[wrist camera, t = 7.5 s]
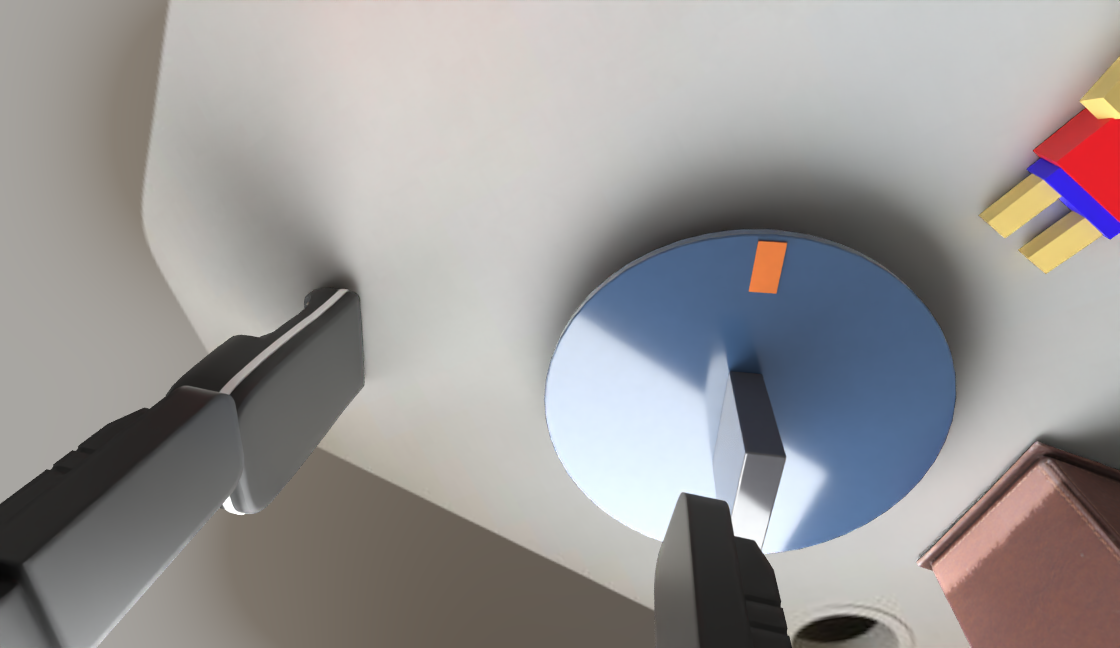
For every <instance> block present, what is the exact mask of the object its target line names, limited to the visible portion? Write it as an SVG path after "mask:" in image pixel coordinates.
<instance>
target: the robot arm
mask: <svg viewBox="0 0 1120 648" xmlns="http://www.w3.org/2000/svg"><path fill="white" fill-rule="evenodd" d="M243 468H244V453H243V447H242V441H241V435H240V429H239V423H238V417H237V410H236V405H235V401H234V399H233V398H232V396H230V395H229V394H225V393H220V392H215V391H211V390H206V389H201V388H196V387H192V386H181V387H179V388H176V389H175V390H173V391H172V392H171V393H170V394H168V395H167V396H166V397H164V398H163V399H162V400H161V401H159V402H158V403H157V404H155V405H154V406H153V407H152V408H150V409H148V408H142V409H140V410H138V411H136V412H133V413H131V414H129V415H127V416H124V417H123V418H120V419H118V420H115V421H113V422H111V423H109V424H107V425H106V426H104V427H103V428H102V429H100V430H99V431H98V432H96V433H95V434H94V435H92V436H91V437H90V438H88V439H87V440H86V441H84V442H83V443H82V444H80V445H79V446H78V449H77V450H76V451H73V450H72V451H71V452H69V453H68V454H67V455H65V456H64V457H63V458H61V459H60V460H59V461H57V462H56V463H55V464H54V465H53V468H52V469H51V470H45V471H44V472H43V473H42V474H40V475H39V476H37V477H36V478H35V479H33V480H32V481H31V482H29V483H28V484H26V485H25V486H24V487H22V488H21V489H20V490H18V491H17V492H16V493H14V494H13V495H12V496H10V497H9V498H8V499H6V500H5V501H4V502H2V503H1V504H0V648H96V647H97V646H98V645H99V644H100V643H101V642H102V640H103V639H104V638H105V637H106V636H107V635H108V634H109V633H110V631H111V630H112V629H113V628H114V627H115V626H116V625H117V623H118V622H119V621H120V620H121V619H122V618H123V617H124V615H125V614H126V613H127V612H128V611H129V610H130V609H131V607H132V606H133V605H134V604H135V603H136V602H137V601H138V599H139V598H140V597H141V596H142V595H143V594H144V593H145V592H146V590H147V589H148V588H149V587H150V586H151V585H152V584H153V582H154V581H155V580H156V579H157V578H158V577H159V575H161V573H162V572H163V571H164V570H165V569H166V567H168V565H169V564H170V563H171V562H172V561H173V559H175V557H176V556H177V555H178V554H179V553H180V552H181V551H182V549H183V548H184V547H185V546H186V545H187V544H188V543H189V542H190V540H191V539H192V538H193V537H194V536H195V534H197V532H198V531H199V530H200V529H201V528H202V527H203V525H204V524H205V523H206V522H207V521H208V520H209V519H210V518H211V517H212V515H213V514H214V513H215V512H216V511H217V510H218V509H219V507H220V506H221V505H222V504H223V503H224V502H225V501H226V500H227V498H228V497H229V496H230V495H231V494H232V492H233V491H234V490H235V488H236V486H237V485H238V483H239V480H240V478H241V475H242V472H243ZM654 600H655V648H792V646H791V642H790V637H789V636H787V625H786V620H785V616H784V612H783V608H781V606H780V605H781V599H780V595H779V591H778V586H777V582H776V578H775V574H774V570H773V568H772V567H771V565H770V563H769V562H768V560H767V559H766V557H765V556H764V554H763V552H762V551H761V549H760V548H759V546H758V545H757V543H756V541H755V540H751V539H747V538H742V537H737V536H734V531H733V525H732V520H731V514H730V509H729V506H728V503H727V502H726V501H723V500H718V499H713V498H709V497H704V496H699V495H695V494H690V493H685V492H682V493H681V494H680V496H679V498H678V500H677V503H676V506H675V509H674V511H673V514H672V517H671V520H670V523H669V526H668V528H667V531H666V534H665V537H664V540H663V542H662V545H661V548H660V551H659V555H658V559H657V565H656V571H655V583H654Z"/></svg>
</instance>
